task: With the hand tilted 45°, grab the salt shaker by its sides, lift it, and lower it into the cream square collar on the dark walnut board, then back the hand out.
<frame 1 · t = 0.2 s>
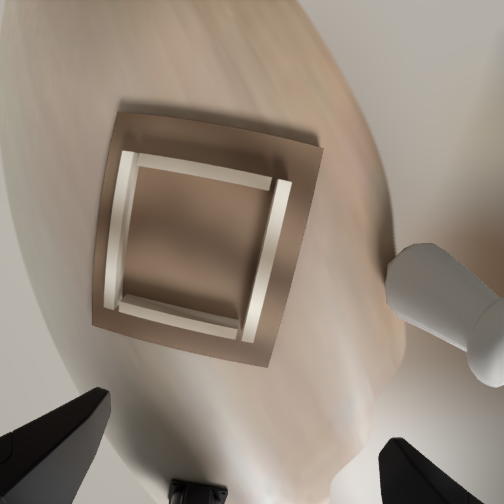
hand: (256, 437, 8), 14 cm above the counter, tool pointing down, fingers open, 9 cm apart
collar board: (193, 242, 21), on the counter
salt shaker: (406, 273, 22), on the counter
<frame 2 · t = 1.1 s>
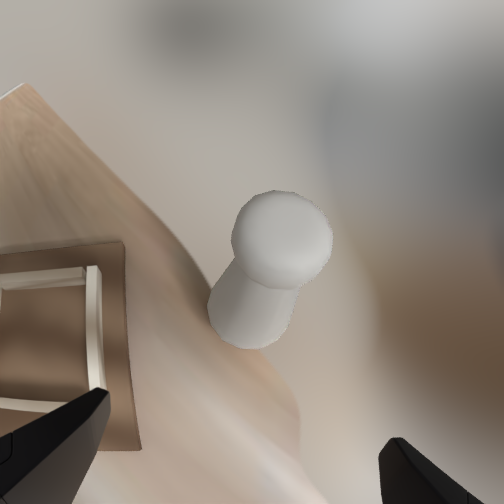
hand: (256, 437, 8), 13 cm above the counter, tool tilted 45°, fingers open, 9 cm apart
collar board: (46, 346, 20), on the counter
salt shaker: (244, 318, 24), on the counter
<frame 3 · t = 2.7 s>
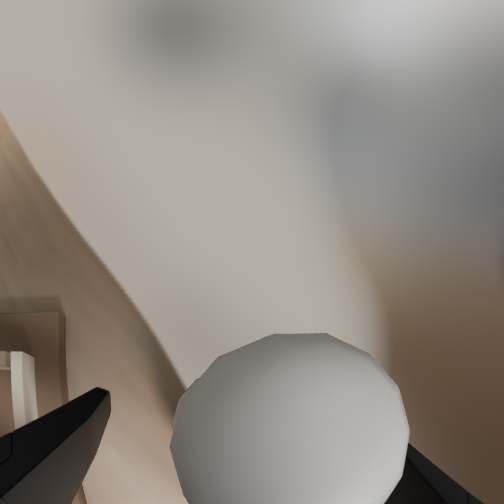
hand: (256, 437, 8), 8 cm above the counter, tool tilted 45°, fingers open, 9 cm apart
salt shaker: (230, 424, 15), on the counter
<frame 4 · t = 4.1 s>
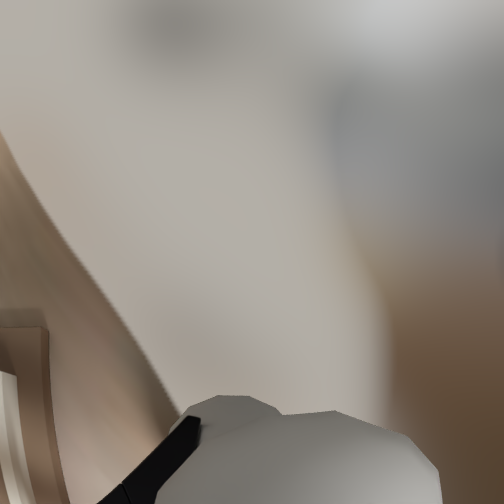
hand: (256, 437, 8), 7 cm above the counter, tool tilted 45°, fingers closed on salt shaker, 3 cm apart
salt shaker: (228, 450, 13), on the counter, touching gripper
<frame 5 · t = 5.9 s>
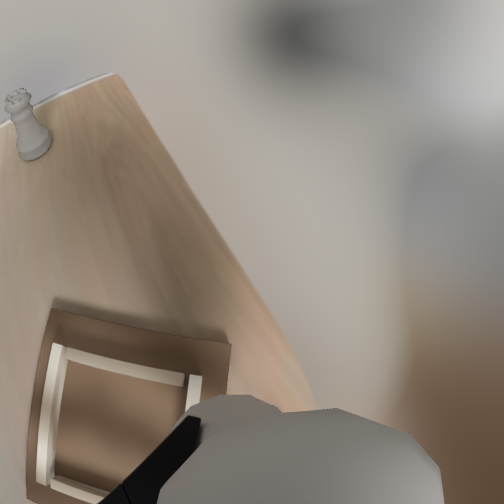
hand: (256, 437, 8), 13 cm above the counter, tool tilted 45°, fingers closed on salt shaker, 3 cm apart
collar board: (120, 435, 18), on the counter
salt shaker: (229, 450, 13), point 6 cm above the counter, touching gripper
rook chess piece: (36, 149, 28), on the counter
when the fingers open (9 cm above the counter, at t = 8.2 s): salt shaker drops 1 cm, resting on collar board.
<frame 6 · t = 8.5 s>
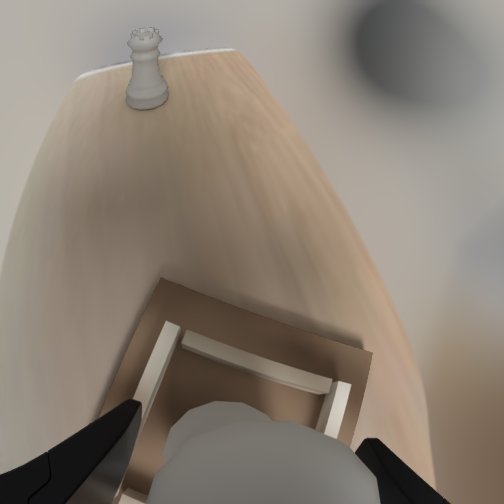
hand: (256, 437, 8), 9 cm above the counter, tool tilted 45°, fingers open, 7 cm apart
collar board: (224, 445, 15), on the counter
salt shaker: (223, 451, 14), point 1 cm above the counter, touching collar board
rook chess piece: (147, 101, 28), on the counter
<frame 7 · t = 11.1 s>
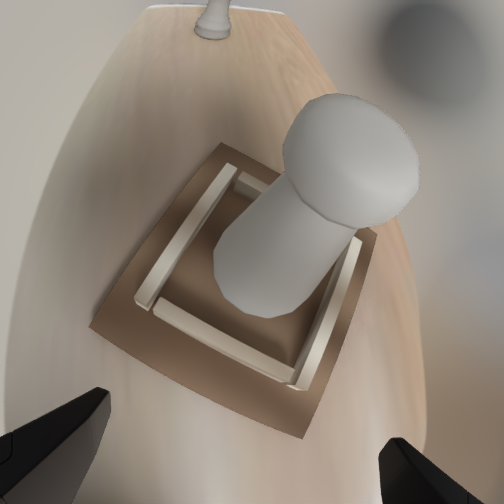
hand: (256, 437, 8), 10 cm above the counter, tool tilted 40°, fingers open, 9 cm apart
collar board: (253, 279, 20), on the counter
salt shaker: (253, 279, 19), point 1 cm above the counter, touching collar board
rook chess piece: (211, 34, 31), on the counter
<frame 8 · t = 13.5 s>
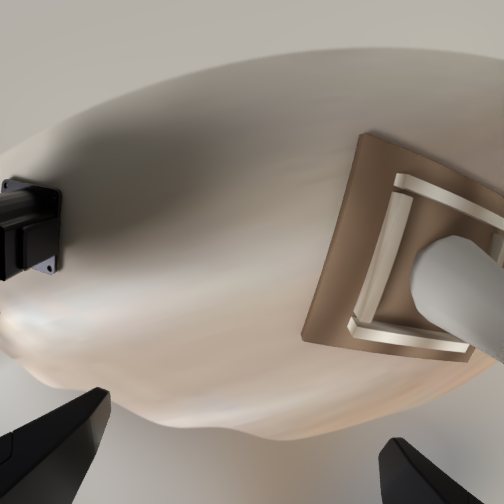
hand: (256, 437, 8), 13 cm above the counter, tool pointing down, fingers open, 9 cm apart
collar board: (429, 266, 20), on the counter
salt shaker: (432, 268, 19), point 1 cm above the counter, touching collar board
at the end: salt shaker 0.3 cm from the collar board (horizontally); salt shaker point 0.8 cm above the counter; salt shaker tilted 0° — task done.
